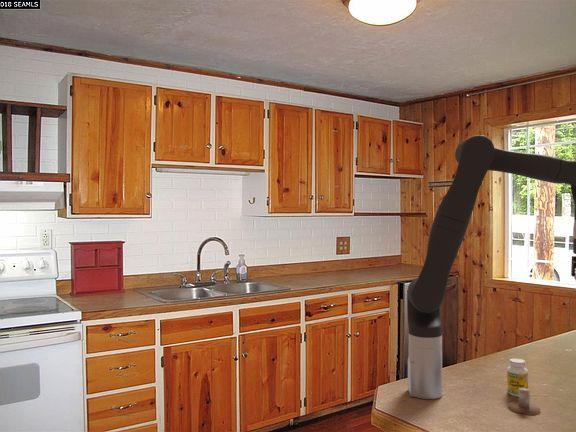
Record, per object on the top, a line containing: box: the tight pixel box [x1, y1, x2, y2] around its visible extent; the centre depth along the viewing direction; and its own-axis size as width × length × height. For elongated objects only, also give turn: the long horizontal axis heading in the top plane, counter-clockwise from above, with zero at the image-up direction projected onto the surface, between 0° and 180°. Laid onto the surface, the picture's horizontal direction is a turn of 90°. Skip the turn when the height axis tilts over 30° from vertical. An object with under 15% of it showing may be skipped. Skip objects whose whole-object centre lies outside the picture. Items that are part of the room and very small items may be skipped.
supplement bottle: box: [506, 358, 529, 398], centre depth 144 cm, size 5×5×10 cm
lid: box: [508, 388, 541, 416], centre depth 134 cm, size 8×8×5 cm
